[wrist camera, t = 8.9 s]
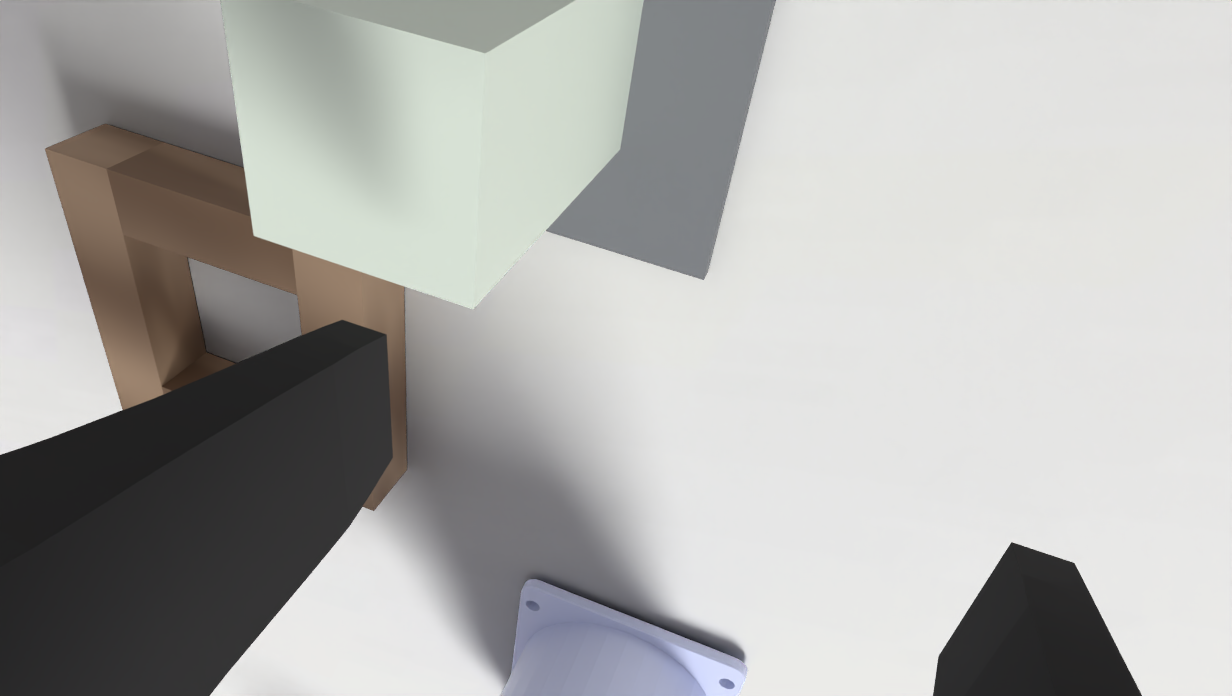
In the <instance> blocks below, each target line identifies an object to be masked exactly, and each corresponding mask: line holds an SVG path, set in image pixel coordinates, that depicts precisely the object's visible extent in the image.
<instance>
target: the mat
mask: <svg viewBox="0 0 1232 696" xmlns="http://www.w3.org/2000/svg"><path fill="white" fill-rule="evenodd" d="M775 1H776V0H644V2H643V8H642V14H641V21H640V27H639V33H638V40H637V46H636V52H635V59H634V65H633V71H632V78H631V84H630V90H629V97H628V103H627V109H626V116H625V122H624V128H623V135H622V141H621V147H620V150H619V151H618V152H617V153H616V155H615V156H614V157H613V158H612V159H611V160H610V161H609V162H608V163H607V164H606V165H605V167H604V168H603V169H602V170H601V171H600V172H599V173H598V174H597V175H596V176H595V177H594V178H593V180H592V181H591V182H590V183H589V184H588V185H587V186H586V187H585V188H584V189H583V190H582V192H581V193H580V194H579V195H578V196H577V197H576V198H575V199H574V200H573V201H572V202H571V204H570V205H569V206H568V207H567V208H566V209H565V210H564V211H563V212H562V213H561V214H560V216H559V217H558V218H557V219H556V220H555V221H554V222H553V223H552V224H551V225H550V226H549V228H548V229H547V230H546V231H548V232H551V233H554V234H558V235H561V236H564V237H567V238H570V239H574V240H577V241H580V242H583V243H587V244H590V245H593V246H596V247H599V248H603V249H606V250H609V251H612V252H615V253H619V254H622V255H625V256H628V257H632V258H635V259H638V260H641V261H644V262H648V263H651V264H654V265H657V266H660V267H664V268H667V269H670V270H673V271H677V272H680V273H683V274H686V275H689V276H693V277H696V278H699V279H702V280H704V278H705V276H706V274H707V272H708V269H709V265H710V261H711V257H712V253H713V249H714V245H715V241H716V237H717V233H718V229H719V225H720V221H721V217H722V213H723V209H724V205H725V201H726V197H727V193H728V189H729V185H730V181H731V177H732V173H733V169H734V165H735V161H736V157H737V153H738V149H739V145H740V141H741V137H742V133H743V129H744V125H745V121H746V117H747V113H748V109H749V105H750V101H751V97H752V93H753V89H754V85H755V81H756V77H757V73H758V69H759V65H760V61H761V57H762V53H763V49H764V45H765V41H766V37H767V33H768V29H769V25H770V21H771V17H772V13H773V9H774V5H775Z"/></svg>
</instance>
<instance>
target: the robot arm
mask: <svg viewBox="0 0 1232 696" xmlns="http://www.w3.org/2000/svg"><path fill="white" fill-rule="evenodd" d="M392 458H393V448H392V428H391V409H390V389H389V370H388V350H387V334H384V333H381V332H378V331H375V330H372V329H369V328H366V327H363V326H360V325H357V324H354V323H351V322H348V321H345V320H340V321H337V322H334V323H332V324H329V325H326V326H324V327H321V328H319V329H316V330H314V331H311V332H309V333H306V334H304V335H302V336H299V337H297V338H295V339H292V340H290V341H288V342H285V343H283V344H281V345H278V346H276V347H274V348H271V349H269V350H267V351H264V352H262V353H260V354H257V355H255V356H253V357H250V358H248V359H246V360H244V361H241V362H239V363H237V364H234V365H232V366H230V367H227V368H225V369H223V370H220V371H218V372H215V373H213V374H211V375H208V376H206V377H204V378H201V379H199V380H196V381H194V382H192V383H189V384H187V385H185V386H182V387H180V388H178V389H175V390H173V391H170V392H168V393H166V394H163V395H161V396H158V397H156V398H154V399H151V400H148V401H146V402H143V403H141V404H138V405H135V406H133V407H130V408H127V409H125V410H122V411H120V412H117V413H114V414H112V415H109V416H107V417H104V418H101V419H99V420H96V421H93V422H91V423H88V424H86V425H83V426H80V427H78V428H75V429H73V430H70V431H67V432H65V433H62V434H59V435H57V436H54V437H52V438H49V439H46V440H43V441H40V442H37V443H34V444H32V445H29V446H26V447H23V448H20V449H17V450H14V451H11V452H8V453H5V454H2V455H0V696H210V694H211V693H212V692H213V691H214V689H215V688H216V687H217V685H218V684H219V683H220V682H221V680H222V679H223V678H224V676H225V675H226V674H227V673H228V672H229V670H230V669H231V668H232V667H233V666H234V664H235V663H236V662H237V661H238V660H239V658H240V657H241V656H242V655H243V654H244V652H245V651H246V650H247V649H248V648H249V647H250V645H251V644H252V643H253V642H254V641H255V639H256V638H257V637H258V636H259V635H260V633H261V632H262V631H263V630H264V629H265V627H266V626H267V625H268V624H269V623H270V622H271V620H272V619H273V618H274V617H275V616H276V614H277V613H278V612H279V611H280V610H281V608H282V607H283V606H284V605H285V604H286V602H287V601H288V600H289V599H290V598H291V596H292V595H293V594H294V593H295V592H296V591H297V589H298V588H299V587H300V586H301V585H302V583H303V582H304V581H305V580H306V579H307V577H308V576H309V575H310V574H311V573H312V571H313V570H314V569H315V568H316V567H317V565H318V564H319V563H320V562H321V560H322V559H323V558H324V557H325V556H326V554H327V553H328V552H329V551H330V550H331V548H332V547H333V546H334V545H335V543H336V542H337V541H338V540H339V539H340V537H341V536H342V535H343V534H344V532H345V531H346V530H347V529H348V527H349V526H350V525H351V523H352V522H353V520H354V519H355V517H356V516H357V514H358V512H359V511H360V509H361V508H362V506H363V505H364V503H365V502H366V500H367V499H368V497H369V496H370V494H371V493H372V491H373V489H374V488H375V486H376V484H377V483H378V481H379V480H380V478H381V476H382V475H383V473H384V471H385V470H386V468H387V467H388V465H389V463H390V462H391V460H392ZM746 675H747V667H746V665H745V664H744V663H743V662H742V661H741V660H739V659H737V658H735V657H733V656H730V655H728V654H725V653H722V652H720V651H717V650H715V649H712V648H710V647H707V646H705V645H702V644H700V643H697V642H695V641H692V640H690V639H687V638H684V637H682V636H679V635H677V634H674V633H672V632H669V631H667V630H664V629H662V628H659V627H657V626H654V625H652V624H649V623H646V622H644V621H641V620H639V619H636V618H634V617H631V616H629V615H626V614H624V613H621V612H619V611H616V610H614V609H611V608H608V607H606V606H603V605H601V604H598V603H596V602H593V601H591V600H588V599H586V598H583V597H581V596H578V595H576V594H573V593H570V592H568V591H565V590H563V589H560V588H558V587H555V586H553V585H550V584H548V583H545V582H543V581H540V580H536V579H529V580H528V581H526V583H525V584H524V586H523V588H522V590H521V596H520V605H519V613H518V621H517V629H516V638H515V646H514V654H513V663H512V671H511V675H510V677H509V679H508V681H507V683H506V685H505V687H504V689H503V691H502V693H501V695H500V696H739V693H740V691H741V689H742V686H743V684H744V682H745V679H746ZM933 696H1142V695H1141V693H1140V691H1139V689H1138V687H1137V685H1136V683H1135V681H1134V679H1133V677H1132V675H1131V673H1130V672H1129V670H1128V668H1127V666H1126V664H1125V662H1124V660H1123V658H1122V656H1121V654H1120V652H1119V650H1118V648H1117V646H1116V644H1115V642H1114V640H1113V638H1112V636H1111V634H1110V632H1109V630H1108V628H1107V626H1106V624H1105V622H1104V620H1103V618H1102V616H1101V614H1100V612H1099V610H1098V608H1097V606H1096V605H1095V603H1094V601H1093V599H1092V597H1091V595H1090V593H1089V591H1088V589H1087V587H1086V585H1085V583H1084V581H1083V579H1082V577H1081V575H1080V573H1079V571H1078V569H1077V567H1076V566H1075V564H1074V563H1072V562H1069V561H1066V560H1063V559H1060V558H1057V557H1054V556H1051V555H1048V554H1045V553H1042V552H1039V551H1036V550H1033V549H1030V548H1027V547H1024V546H1021V545H1018V544H1015V543H1012V542H1011V544H1010V546H1009V547H1008V549H1007V550H1006V552H1005V553H1004V555H1003V556H1002V558H1001V560H1000V561H999V563H998V564H997V566H996V567H995V569H994V571H993V572H992V574H991V575H990V577H989V578H988V580H987V582H986V583H985V585H984V586H983V588H982V589H981V591H980V592H979V594H978V596H977V597H976V599H975V600H974V602H973V603H972V605H971V607H970V608H969V610H968V611H967V613H966V614H965V616H964V617H963V619H962V621H961V622H960V624H959V625H958V627H957V628H956V630H955V632H954V633H953V635H952V636H951V638H950V639H949V641H948V643H947V644H946V646H945V647H944V649H943V650H942V652H941V653H940V655H939V657H938V664H937V672H936V679H935V686H934V693H933Z"/></svg>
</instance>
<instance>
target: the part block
mask: <svg viewBox="0 0 1232 696" xmlns="http://www.w3.org/2000/svg"><path fill="white" fill-rule="evenodd" d="M220 2H221V9H222V16H223V23H224V30H225V37H226V44H227V51H228V58H229V65H230V72H231V79H232V86H233V93H234V100H235V107H236V115H237V122H238V129H239V136H240V143H241V150H242V157H243V164H244V171H245V178H246V185H247V192H248V199H249V206H250V213H251V220H252V227H253V234H254V236H256V237H259V238H262V239H265V240H268V241H271V242H274V243H277V244H280V245H282V246H285V247H288V248H291V249H294V250H297V251H300V252H303V253H306V254H309V255H312V256H315V257H318V258H321V259H324V260H327V261H330V262H333V263H336V264H339V265H342V266H345V267H348V268H351V269H354V270H357V271H360V272H363V273H366V274H369V275H372V276H375V277H378V278H381V279H384V280H386V281H389V282H392V283H395V284H398V285H401V286H404V287H407V288H410V289H413V290H416V291H419V292H422V293H425V294H428V295H431V296H434V297H437V298H440V299H443V300H446V301H449V302H452V303H455V304H458V305H461V306H464V307H467V308H470V309H474V308H475V307H476V306H477V305H478V304H479V303H480V302H481V301H482V300H483V298H484V297H485V296H486V295H487V294H488V293H489V292H490V291H491V290H492V289H493V288H494V286H495V285H496V284H497V283H498V282H499V281H500V280H501V279H502V278H503V277H504V276H505V274H506V273H507V272H508V271H509V270H510V269H511V268H512V267H513V266H514V265H515V264H516V262H517V261H518V260H519V259H520V258H521V257H522V256H523V255H524V254H525V253H526V252H527V250H528V249H529V248H530V247H531V246H532V245H533V244H534V243H535V242H536V241H537V240H538V238H539V237H540V236H541V235H542V234H543V233H544V232H545V231H546V230H547V229H548V228H549V226H550V225H551V224H552V223H553V222H554V221H555V220H556V219H557V218H558V217H559V216H560V214H561V213H562V212H563V211H564V210H565V209H566V208H567V207H568V206H569V205H570V204H571V202H572V201H573V200H574V199H575V198H576V197H577V196H578V195H579V194H580V193H581V192H582V190H583V189H584V188H585V187H586V186H587V185H588V184H589V183H590V182H591V181H592V180H593V178H594V177H595V176H596V175H597V174H598V173H599V172H600V171H601V170H602V169H603V168H604V167H605V165H606V164H607V163H608V162H609V161H610V160H611V159H612V158H613V157H614V156H615V155H616V153H617V152H618V151H619V150H620V147H621V141H622V135H623V128H624V122H625V116H626V109H627V103H628V97H629V90H630V84H631V78H632V71H633V65H634V59H635V52H636V46H637V40H638V33H639V27H640V21H641V14H642V8H643V2H644V0H220Z"/></svg>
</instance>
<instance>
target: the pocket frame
mask: <svg viewBox="0 0 1232 696" xmlns="http://www.w3.org/2000/svg"><path fill="white" fill-rule="evenodd" d="M45 151H46V154H47V158H48V161H49V164H50V168H51V171H52V174H53V178H54V181H55V184H56V188H57V191H58V194H59V198H60V201H61V204H62V208H63V211H64V215H65V218H66V221H67V225H68V228H69V231H70V235H71V238H72V241H73V245H74V248H75V251H76V255H77V258H78V262H79V265H80V268H81V272H82V275H83V278H84V282H85V285H86V288H87V292H88V295H89V298H90V302H91V305H92V309H93V312H94V315H95V319H96V322H97V325H98V329H99V332H100V335H101V339H102V342H103V345H104V349H105V352H106V355H107V359H108V362H109V366H110V369H111V372H112V376H113V379H114V382H115V386H116V389H117V392H118V396H119V399H120V402H121V406H122V409H123V410H125V409H127V408H130V407H133V406H135V405H138V404H141V403H143V402H146V401H148V400H151V399H154V398H156V397H158V396H161V395H163V394H166V393H168V392H170V391H173V390H175V389H178V388H180V387H182V386H185V385H187V384H189V383H192V382H194V381H196V380H199V379H201V378H204V377H206V376H208V375H211V374H213V373H215V372H218V371H220V370H223V369H225V368H227V367H230V366H232V365H234V364H236V363H234V362H231V361H228V360H225V359H223V358H220V357H217V356H215V355H212V354H209V353H206V348H205V344H204V339H203V334H202V329H201V324H200V319H199V314H198V309H197V304H196V299H195V294H194V289H193V284H192V280H191V275H190V270H189V265H188V260H187V257H189V258H192V259H195V260H197V261H200V262H203V263H206V264H209V265H212V266H215V267H218V268H220V269H223V270H226V271H229V272H232V273H235V274H238V275H241V276H244V277H246V278H249V279H252V280H255V281H258V282H261V283H264V284H267V285H270V286H272V287H275V288H278V289H281V290H284V291H287V292H290V293H293V294H295V295H297V297H298V305H299V314H300V323H301V332H302V335H304V334H306V333H309V332H311V331H314V330H316V329H319V328H321V327H324V326H326V325H329V324H332V323H334V322H337V321H340V320H345V321H348V322H351V323H354V324H357V325H360V326H363V327H366V328H369V329H372V330H375V331H378V332H381V333H384V334H387V350H388V370H389V389H390V409H391V428H392V448H393V458H392V460H391V462H390V463H389V465H388V467H387V468H386V470H385V471H384V473H383V475H382V476H381V478H380V480H379V481H378V483H377V484H376V486H375V488H374V489H373V491H372V493H371V494H370V496H369V497H368V499H367V500H366V502H365V503H364V505H363V506H362V507H365V508H368V509H370V510H373V511H374V510H375V509H376V508H377V506H378V505H379V504H380V503H381V501H382V500H383V499H384V498H385V496H386V495H387V494H388V493H389V491H390V490H391V489H392V488H393V486H394V485H395V484H396V483H397V481H398V480H399V479H400V478H401V476H402V475H403V474H404V473H405V472H406V470H407V436H406V372H405V309H404V286H401V285H398V284H395V283H392V282H389V281H386V280H384V279H381V278H378V277H375V276H372V275H369V274H366V273H363V272H360V271H357V270H354V269H351V268H348V267H345V266H342V265H339V264H336V263H333V262H330V261H327V260H324V259H321V258H318V257H315V256H312V255H309V254H306V253H303V252H300V251H297V250H294V249H291V248H288V247H285V246H282V245H280V244H277V243H274V242H271V241H268V240H265V239H262V238H259V237H256V236H254V234H253V227H252V220H251V213H250V206H249V199H248V192H247V185H246V178H245V171H244V168H243V167H240V166H236V165H233V164H230V163H227V162H224V161H221V160H218V159H214V158H211V157H208V156H205V155H202V154H199V153H196V152H192V151H189V150H186V149H183V148H180V147H177V146H174V145H171V144H167V143H164V142H161V141H158V140H155V139H152V138H149V137H145V136H142V135H139V134H136V133H133V132H130V131H127V130H123V129H120V128H117V127H114V126H111V125H108V124H103V125H101V126H98V127H96V128H94V129H91V130H89V131H86V132H84V133H81V134H79V135H77V136H74V137H72V138H69V139H67V140H64V141H62V142H60V143H57V144H55V145H52V146H50V147H47V148H45Z"/></svg>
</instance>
